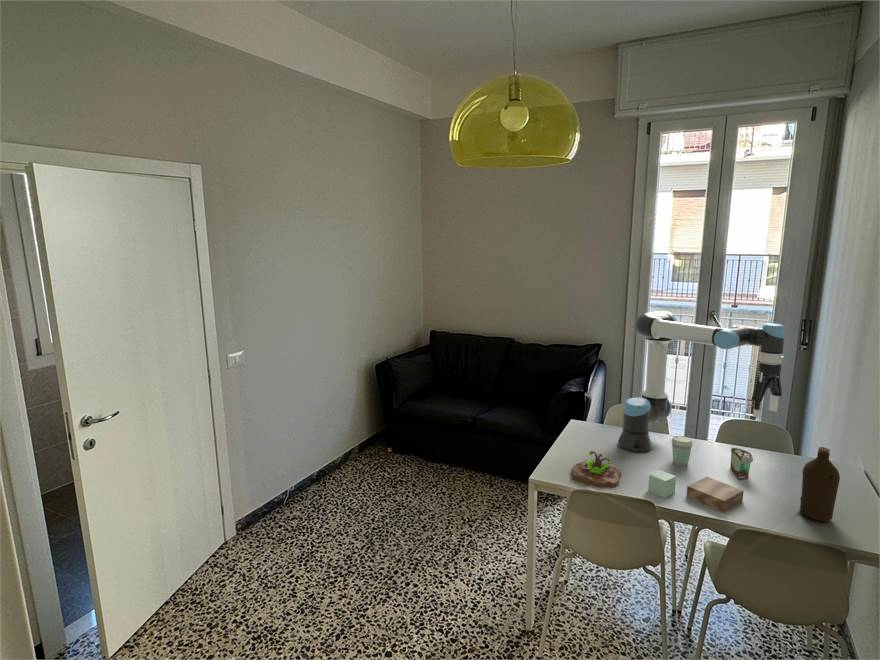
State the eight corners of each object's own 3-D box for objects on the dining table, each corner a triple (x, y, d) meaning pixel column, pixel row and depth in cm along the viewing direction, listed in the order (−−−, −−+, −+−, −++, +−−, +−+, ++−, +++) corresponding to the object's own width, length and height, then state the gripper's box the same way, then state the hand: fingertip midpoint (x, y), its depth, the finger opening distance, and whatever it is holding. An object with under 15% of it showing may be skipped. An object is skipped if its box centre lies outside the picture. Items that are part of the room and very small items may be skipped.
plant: (576, 463, 226) (577, 439, 224) (622, 471, 217) (624, 447, 216) (567, 481, 208) (568, 456, 206) (616, 491, 200) (618, 465, 198)
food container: (756, 482, 205) (758, 459, 204) (739, 481, 207) (742, 458, 205) (744, 469, 217) (746, 447, 216) (729, 468, 219) (731, 446, 217)
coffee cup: (674, 458, 229) (676, 433, 227) (694, 464, 223) (696, 438, 221) (666, 464, 223) (668, 438, 221) (686, 470, 217) (688, 444, 215)
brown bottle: (840, 517, 179) (849, 451, 175) (824, 525, 174) (833, 457, 170) (807, 504, 188) (815, 440, 184) (791, 511, 183) (799, 446, 179)
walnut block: (686, 498, 194) (687, 485, 193) (705, 488, 202) (706, 476, 201) (723, 513, 183) (724, 500, 182) (742, 502, 190) (743, 490, 190)
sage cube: (648, 490, 200) (649, 474, 198) (658, 486, 203) (659, 470, 202) (664, 498, 194) (665, 481, 193) (674, 493, 198) (676, 476, 196)
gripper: (765, 368, 189) (760, 422, 192) (794, 360, 203) (789, 410, 206) (744, 365, 195) (739, 417, 199) (774, 357, 209) (769, 406, 212)
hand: (765, 414), depth 202 cm, fingers open, 13 cm apart
